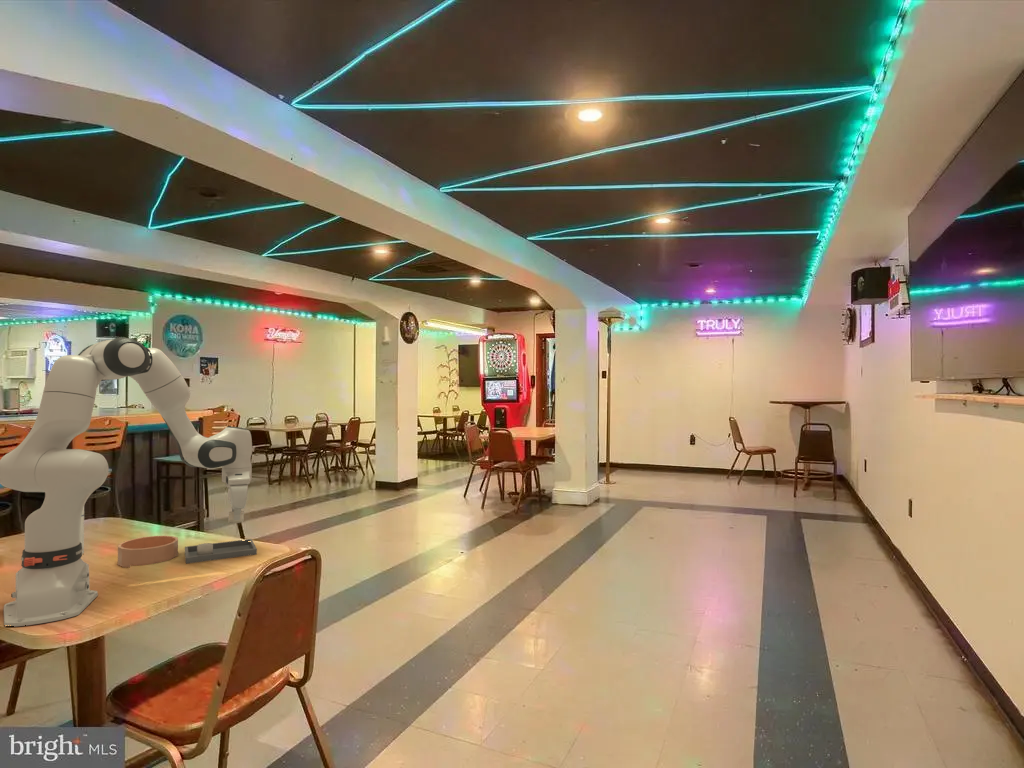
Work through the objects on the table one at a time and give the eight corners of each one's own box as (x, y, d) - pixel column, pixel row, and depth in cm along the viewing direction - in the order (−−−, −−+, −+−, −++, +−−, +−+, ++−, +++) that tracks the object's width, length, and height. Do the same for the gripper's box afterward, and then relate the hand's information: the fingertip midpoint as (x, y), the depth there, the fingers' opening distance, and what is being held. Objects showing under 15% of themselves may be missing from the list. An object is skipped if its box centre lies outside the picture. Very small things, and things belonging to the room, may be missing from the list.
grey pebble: (213, 555, 185) (213, 545, 185) (197, 557, 183) (197, 547, 183) (212, 552, 189) (212, 542, 189) (196, 554, 187) (196, 544, 187)
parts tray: (256, 556, 188) (256, 548, 188) (185, 566, 177) (185, 557, 177) (251, 546, 200) (251, 538, 200) (184, 554, 189) (184, 546, 189)
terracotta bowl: (178, 562, 181) (178, 545, 181) (116, 570, 172) (116, 552, 172) (177, 549, 194) (177, 533, 194) (119, 556, 186) (120, 539, 186)
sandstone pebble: (244, 522, 189) (244, 512, 189) (229, 523, 187) (229, 513, 187) (242, 519, 193) (243, 510, 193) (227, 521, 191) (228, 511, 191)
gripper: (223, 472, 198) (223, 513, 198) (228, 480, 180) (227, 525, 180) (244, 471, 201) (243, 511, 201) (250, 479, 183) (249, 523, 183)
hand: (236, 518), depth 190 cm, fingers closed on sandstone pebble, 4 cm apart
